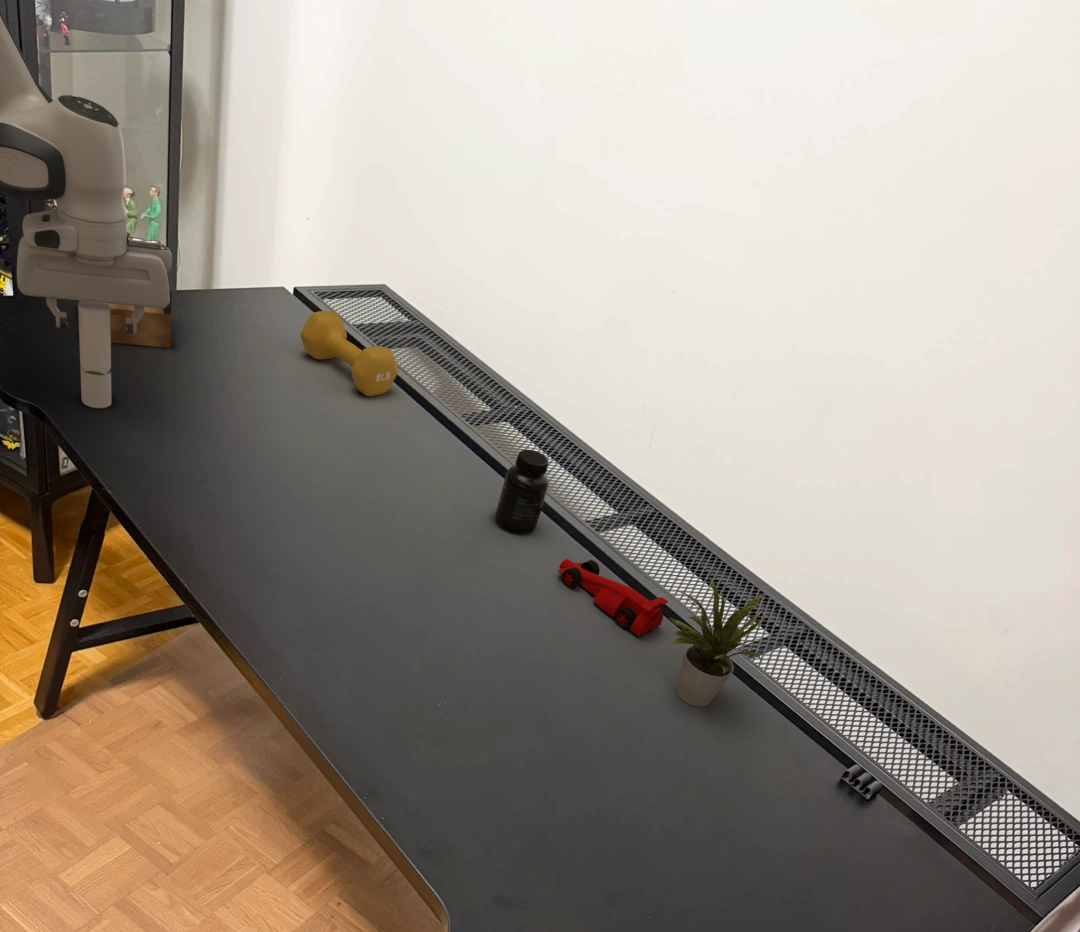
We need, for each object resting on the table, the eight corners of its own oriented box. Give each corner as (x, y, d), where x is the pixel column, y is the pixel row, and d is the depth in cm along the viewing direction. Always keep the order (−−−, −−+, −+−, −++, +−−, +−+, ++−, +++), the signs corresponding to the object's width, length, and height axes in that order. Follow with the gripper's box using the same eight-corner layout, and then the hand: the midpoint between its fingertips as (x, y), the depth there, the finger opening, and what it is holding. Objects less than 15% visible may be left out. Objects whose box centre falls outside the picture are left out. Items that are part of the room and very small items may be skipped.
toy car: (574, 564, 159) (583, 537, 155) (660, 627, 152) (671, 600, 149) (549, 574, 155) (558, 547, 151) (636, 639, 148) (647, 612, 145)
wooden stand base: (82, 340, 171) (80, 280, 164) (78, 309, 178) (76, 251, 172) (170, 348, 176) (171, 291, 170) (163, 318, 184) (164, 262, 178)
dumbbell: (398, 394, 186) (405, 352, 181) (359, 402, 180) (366, 358, 175) (333, 348, 193) (338, 306, 188) (294, 353, 187) (298, 310, 182)
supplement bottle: (494, 508, 165) (511, 442, 157) (534, 517, 166) (554, 451, 159) (494, 530, 160) (512, 463, 152) (536, 539, 161) (556, 473, 153)
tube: (75, 398, 157) (71, 302, 147) (99, 392, 160) (96, 297, 150) (94, 410, 155) (91, 314, 146) (117, 404, 158) (116, 310, 149)
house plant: (679, 644, 150) (719, 552, 139) (757, 695, 145) (805, 604, 135) (628, 681, 140) (668, 585, 129) (711, 737, 136) (759, 642, 125)
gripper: (169, 234, 148) (168, 326, 157) (11, 214, 139) (20, 313, 148) (174, 250, 144) (173, 344, 153) (12, 231, 135) (21, 332, 144)
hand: (96, 329), depth 150 cm, fingers open, 8 cm apart
